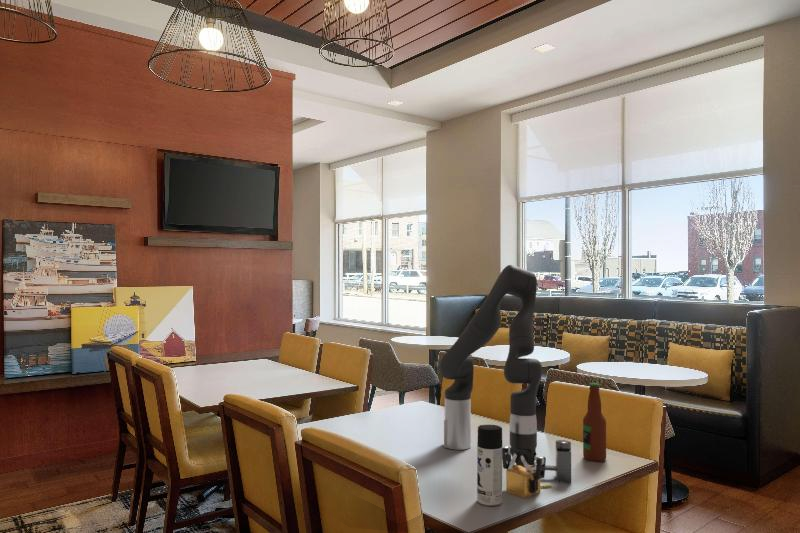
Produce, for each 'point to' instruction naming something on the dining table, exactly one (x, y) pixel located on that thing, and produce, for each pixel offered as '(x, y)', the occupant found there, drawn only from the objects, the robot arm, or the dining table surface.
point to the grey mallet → (562, 461)
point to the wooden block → (519, 482)
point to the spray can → (489, 465)
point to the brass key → (545, 485)
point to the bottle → (594, 428)
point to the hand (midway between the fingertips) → (523, 488)
